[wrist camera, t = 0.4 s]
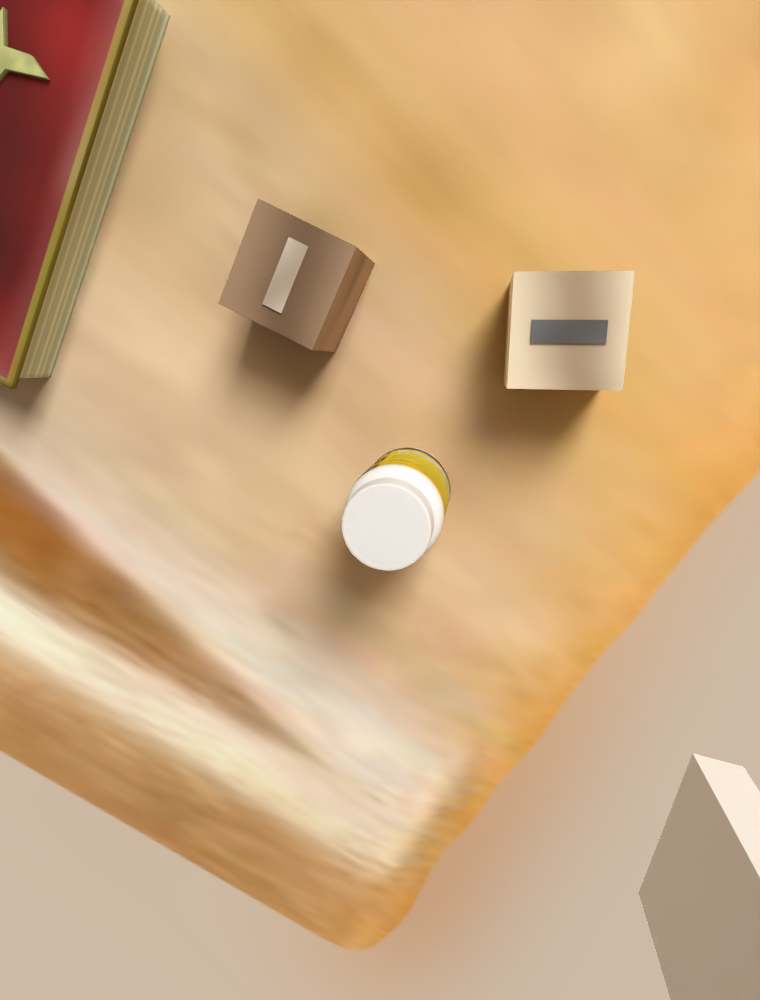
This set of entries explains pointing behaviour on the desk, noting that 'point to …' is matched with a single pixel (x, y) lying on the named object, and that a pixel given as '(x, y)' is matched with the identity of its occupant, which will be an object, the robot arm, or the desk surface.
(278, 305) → the walnut block
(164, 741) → the desk surface
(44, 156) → the hardcover book
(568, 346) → the beech block
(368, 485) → the supplement bottle
